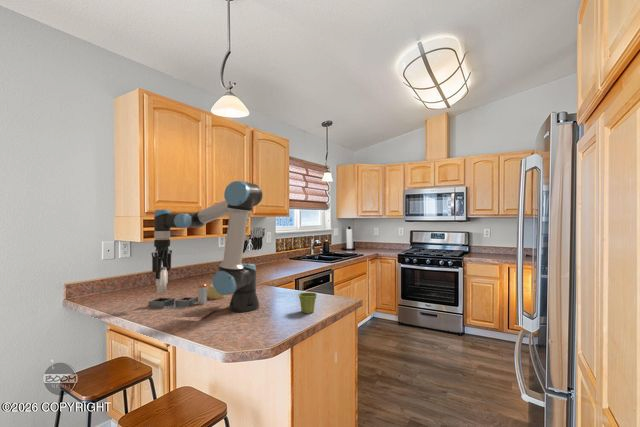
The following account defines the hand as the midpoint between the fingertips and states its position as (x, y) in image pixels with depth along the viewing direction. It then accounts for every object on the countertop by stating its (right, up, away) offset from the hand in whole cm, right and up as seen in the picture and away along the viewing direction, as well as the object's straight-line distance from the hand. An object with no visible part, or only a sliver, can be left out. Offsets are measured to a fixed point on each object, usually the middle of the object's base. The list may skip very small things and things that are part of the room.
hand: (161, 284), depth 165 cm
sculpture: (+23, -13, +18) cm, 32 cm away
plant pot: (+76, -13, -7) cm, 77 cm away
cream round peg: (0, -4, 0) cm, 4 cm away
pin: (+20, -13, +3) cm, 24 cm away
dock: (+6, -13, +1) cm, 14 cm away
